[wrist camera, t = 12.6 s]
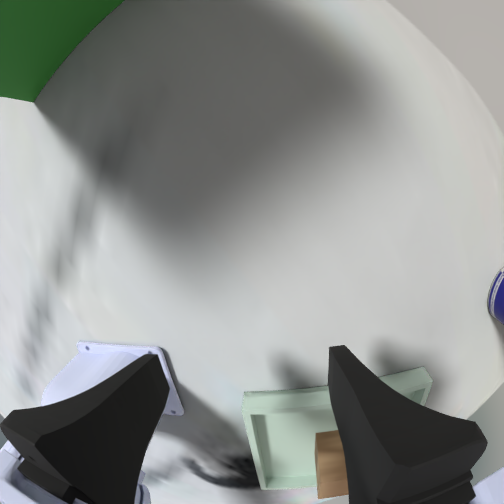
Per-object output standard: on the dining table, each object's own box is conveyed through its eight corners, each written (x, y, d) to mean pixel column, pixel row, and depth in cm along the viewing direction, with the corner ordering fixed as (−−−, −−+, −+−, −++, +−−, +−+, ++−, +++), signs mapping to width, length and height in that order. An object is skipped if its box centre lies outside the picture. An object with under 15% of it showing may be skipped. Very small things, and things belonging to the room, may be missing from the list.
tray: (262, 476, 25) (261, 489, 23) (244, 391, 21) (241, 410, 19) (390, 458, 23) (394, 471, 21) (423, 366, 19) (433, 380, 17)
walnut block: (314, 453, 22) (318, 499, 16) (315, 432, 21) (320, 483, 15) (351, 447, 22) (360, 491, 16) (356, 426, 21) (368, 474, 15)
